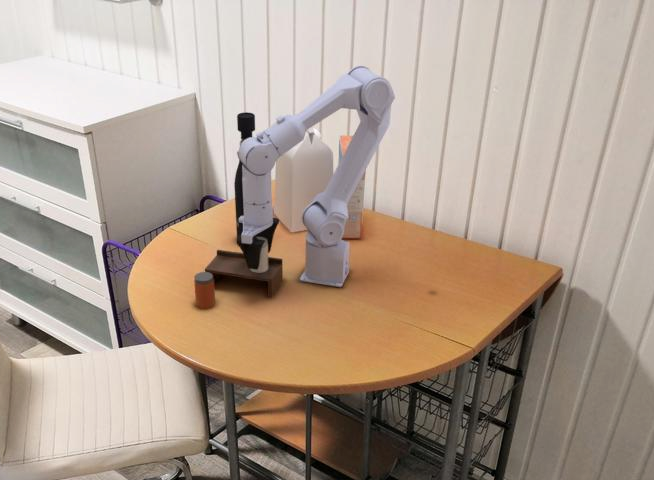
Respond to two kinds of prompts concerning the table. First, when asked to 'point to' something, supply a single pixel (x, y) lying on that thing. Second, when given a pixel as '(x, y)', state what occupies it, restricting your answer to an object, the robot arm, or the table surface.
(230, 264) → the shelf
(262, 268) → the salt shaker
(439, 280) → the table surface
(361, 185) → the cracker box
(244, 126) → the black water bottle
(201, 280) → the pepper shaker
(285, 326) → the table surface
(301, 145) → the milk
